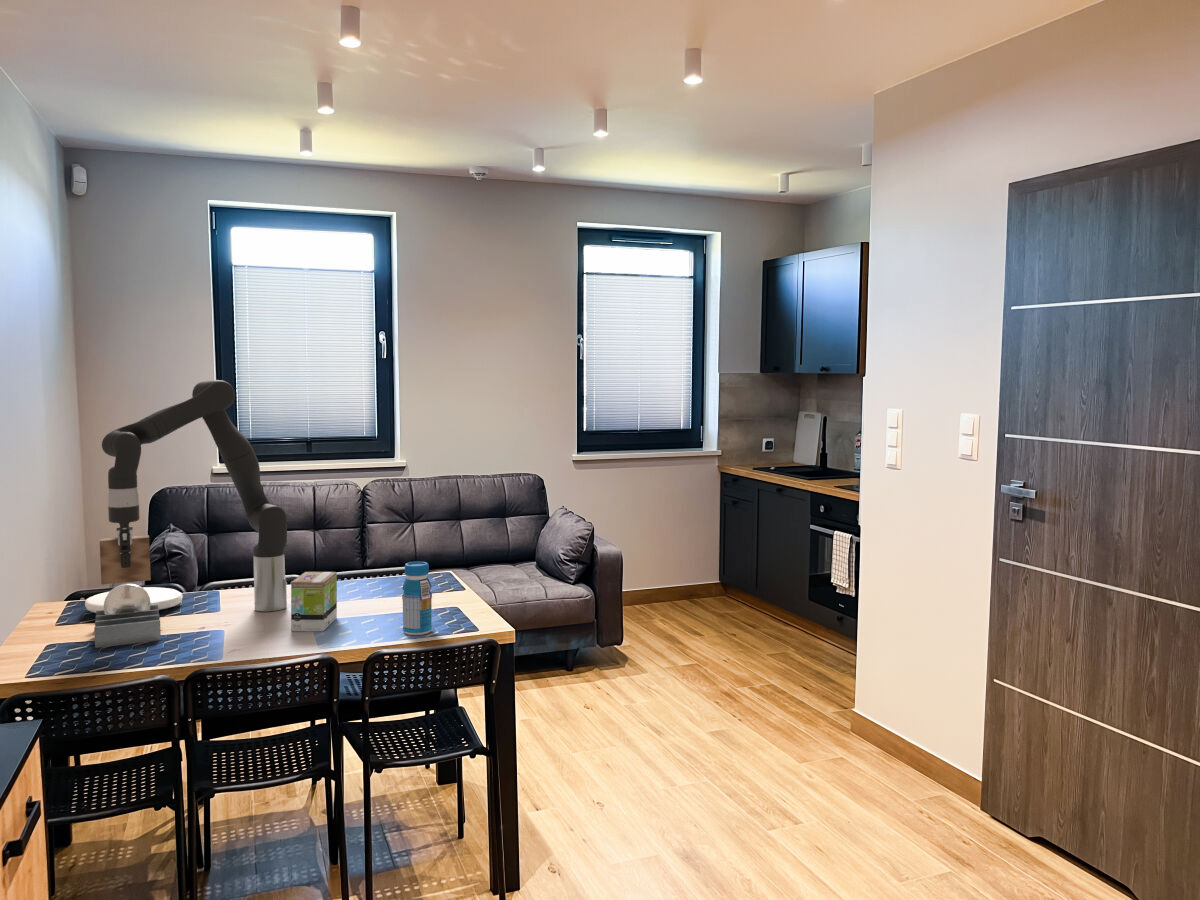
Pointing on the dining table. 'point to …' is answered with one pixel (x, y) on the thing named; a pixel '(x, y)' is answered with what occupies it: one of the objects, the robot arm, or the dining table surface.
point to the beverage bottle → (417, 599)
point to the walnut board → (112, 561)
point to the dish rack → (127, 618)
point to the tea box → (313, 601)
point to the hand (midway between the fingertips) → (125, 565)
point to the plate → (157, 596)
